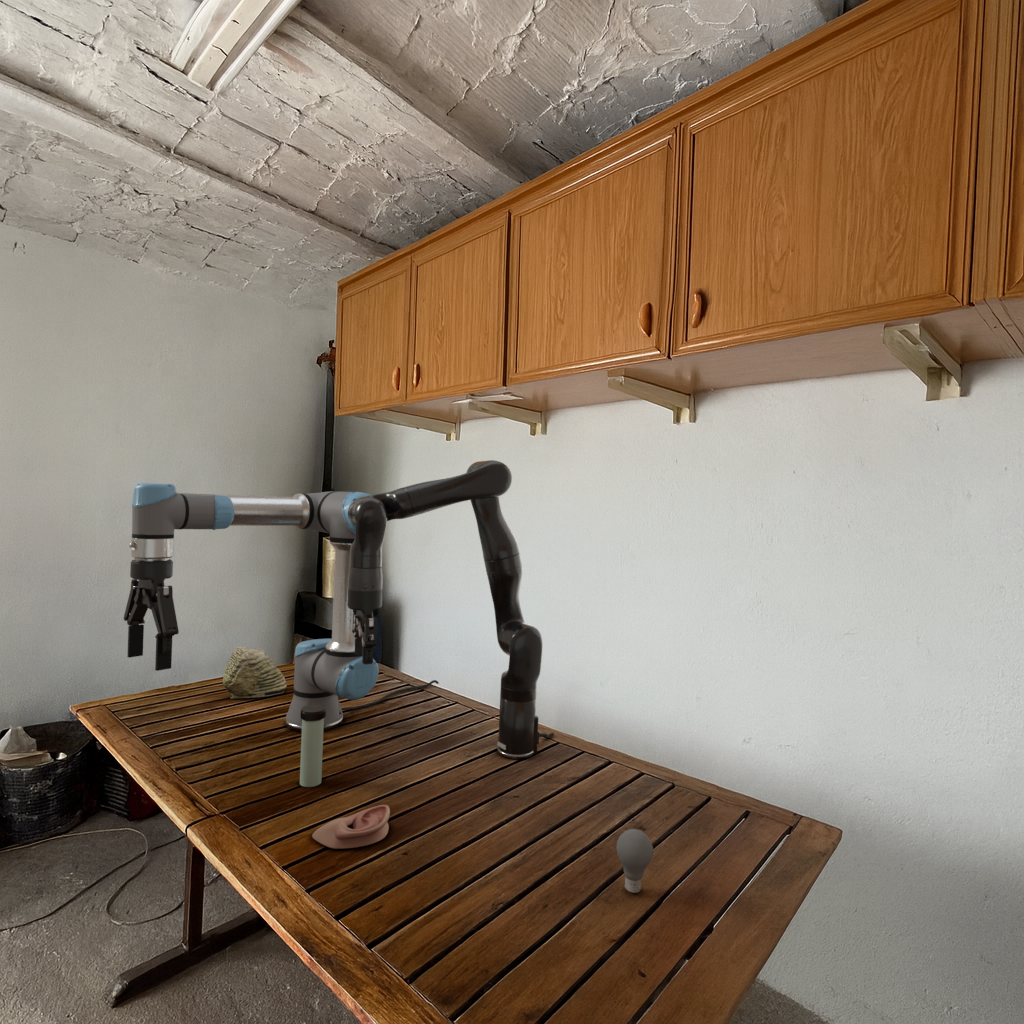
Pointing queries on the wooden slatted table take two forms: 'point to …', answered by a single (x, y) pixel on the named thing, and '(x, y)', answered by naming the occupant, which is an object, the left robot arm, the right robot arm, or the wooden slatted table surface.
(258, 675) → the fossil
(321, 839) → the anatomical model
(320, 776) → the pale green cylinder
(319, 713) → the lid
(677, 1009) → the wooden slatted table surface
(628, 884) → the light bulb
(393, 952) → the wooden slatted table surface
